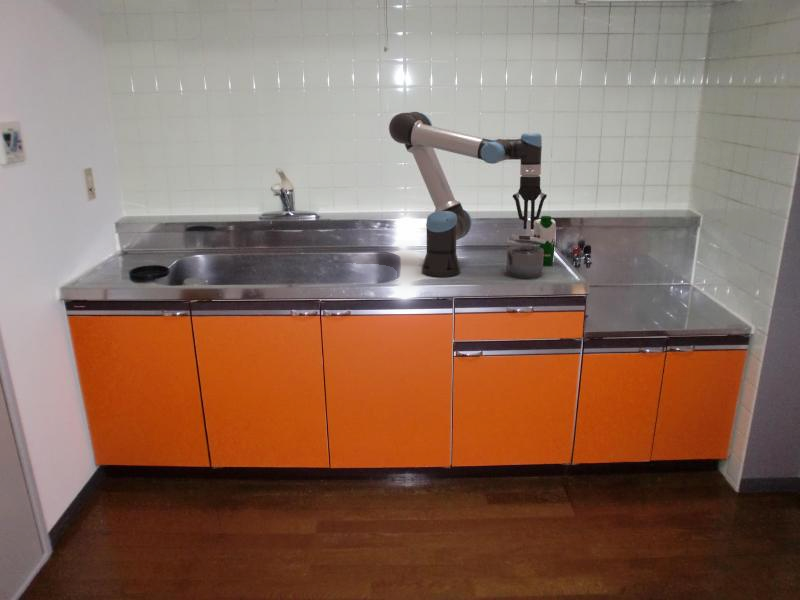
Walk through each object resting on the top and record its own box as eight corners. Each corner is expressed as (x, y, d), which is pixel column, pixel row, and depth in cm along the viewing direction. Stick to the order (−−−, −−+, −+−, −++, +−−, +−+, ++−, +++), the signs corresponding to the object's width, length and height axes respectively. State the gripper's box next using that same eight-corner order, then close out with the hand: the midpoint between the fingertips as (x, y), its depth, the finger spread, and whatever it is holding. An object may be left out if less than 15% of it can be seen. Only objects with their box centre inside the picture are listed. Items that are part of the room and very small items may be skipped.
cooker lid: (504, 238, 230) (505, 230, 230) (508, 243, 246) (508, 236, 246) (544, 240, 226) (545, 232, 226) (545, 245, 242) (546, 238, 242)
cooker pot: (503, 277, 236) (504, 252, 233) (508, 267, 250) (509, 243, 247) (541, 280, 232) (542, 254, 229) (543, 269, 246) (545, 245, 243)
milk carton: (532, 265, 252) (535, 217, 246) (530, 260, 261) (533, 213, 255) (554, 266, 252) (558, 217, 245) (551, 260, 260) (554, 213, 254)
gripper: (511, 176, 230) (510, 239, 236) (547, 176, 226) (545, 239, 233) (513, 174, 236) (512, 235, 243) (548, 174, 233) (546, 236, 240)
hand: (528, 237), depth 238 cm, fingers closed
